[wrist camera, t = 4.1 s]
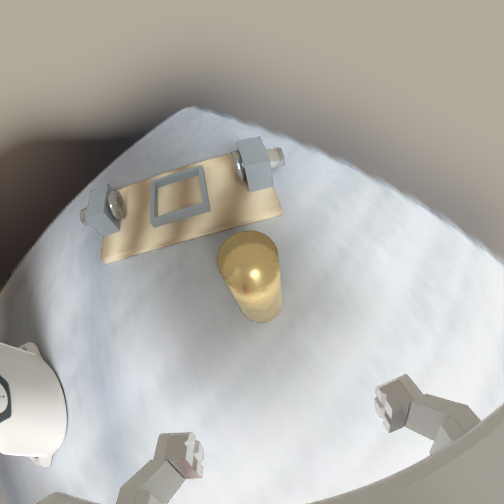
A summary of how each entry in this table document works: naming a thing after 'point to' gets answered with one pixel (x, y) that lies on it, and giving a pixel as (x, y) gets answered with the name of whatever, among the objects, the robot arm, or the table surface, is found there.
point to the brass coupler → (252, 274)
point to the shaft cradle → (186, 202)
